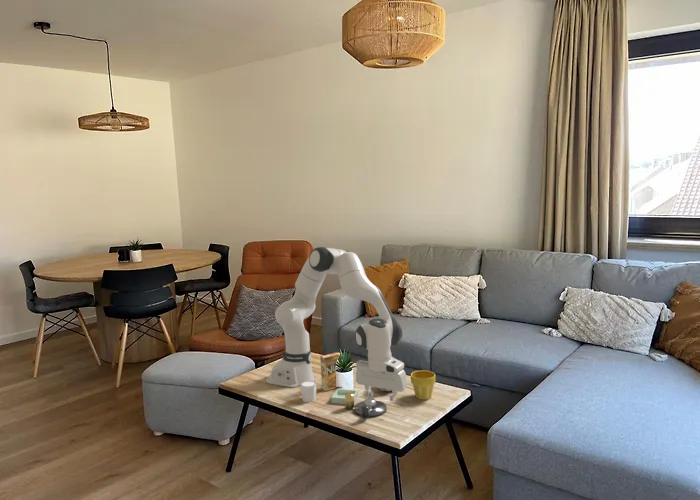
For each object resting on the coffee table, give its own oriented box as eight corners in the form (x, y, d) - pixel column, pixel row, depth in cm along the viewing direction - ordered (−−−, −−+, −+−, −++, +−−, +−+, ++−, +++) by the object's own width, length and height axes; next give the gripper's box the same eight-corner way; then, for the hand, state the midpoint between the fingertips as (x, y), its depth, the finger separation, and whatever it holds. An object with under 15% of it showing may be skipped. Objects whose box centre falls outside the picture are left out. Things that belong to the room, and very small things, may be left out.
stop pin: (344, 409, 212) (344, 395, 211) (347, 406, 215) (346, 392, 214) (353, 410, 211) (352, 396, 210) (355, 406, 214) (354, 392, 213)
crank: (366, 404, 213) (365, 394, 213) (376, 404, 212) (376, 395, 212) (359, 417, 201) (358, 407, 201) (370, 418, 200) (369, 408, 200)
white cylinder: (317, 395, 226) (316, 380, 226) (316, 402, 220) (316, 386, 219) (301, 396, 226) (300, 381, 225) (300, 403, 219) (299, 387, 219)
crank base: (350, 415, 206) (350, 412, 206) (358, 401, 219) (358, 398, 218) (382, 418, 203) (382, 415, 203) (389, 404, 215) (389, 401, 215)
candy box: (325, 391, 231) (324, 358, 229) (321, 388, 234) (319, 355, 232) (343, 387, 235) (341, 354, 233) (338, 384, 239) (337, 351, 237)
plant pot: (414, 390, 228) (413, 368, 227) (438, 393, 225) (437, 371, 223) (408, 399, 219) (407, 377, 218) (432, 402, 215) (432, 380, 214)
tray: (331, 402, 219) (331, 397, 218) (337, 394, 227) (337, 388, 227) (352, 404, 216) (352, 399, 216) (358, 395, 225) (357, 390, 225)
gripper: (351, 361, 198) (353, 396, 200) (400, 369, 188) (401, 406, 189) (360, 356, 204) (361, 390, 205) (408, 363, 193) (409, 399, 195)
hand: (381, 398), depth 197 cm, fingers open, 8 cm apart
